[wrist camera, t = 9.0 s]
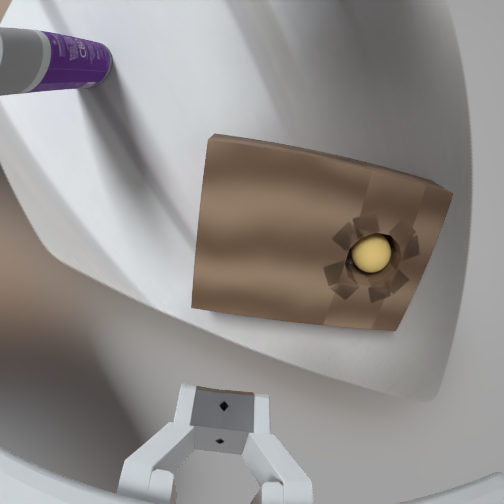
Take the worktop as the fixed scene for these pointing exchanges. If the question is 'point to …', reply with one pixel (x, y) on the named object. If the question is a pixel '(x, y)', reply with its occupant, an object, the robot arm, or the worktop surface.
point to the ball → (371, 252)
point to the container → (49, 62)
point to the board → (309, 235)
